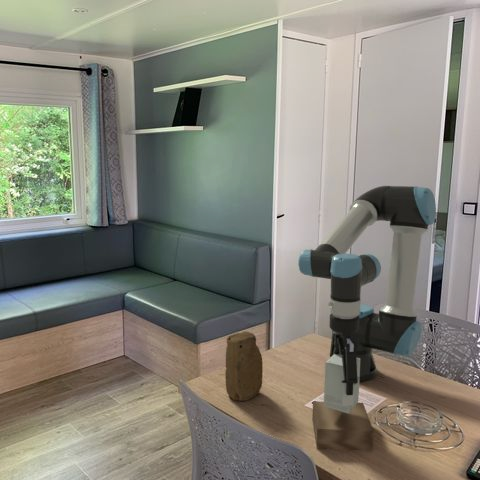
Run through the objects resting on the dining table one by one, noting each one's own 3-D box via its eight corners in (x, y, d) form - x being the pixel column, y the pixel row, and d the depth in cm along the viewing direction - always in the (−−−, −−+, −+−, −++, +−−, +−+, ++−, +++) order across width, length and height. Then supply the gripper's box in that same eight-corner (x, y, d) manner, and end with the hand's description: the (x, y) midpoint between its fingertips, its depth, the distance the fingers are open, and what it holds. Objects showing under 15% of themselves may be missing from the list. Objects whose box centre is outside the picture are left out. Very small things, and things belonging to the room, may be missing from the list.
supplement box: (350, 414, 125) (351, 368, 122) (322, 406, 129) (324, 361, 126) (359, 402, 131) (361, 357, 129) (333, 395, 135) (334, 352, 132)
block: (235, 404, 147) (235, 341, 144) (223, 394, 154) (222, 334, 150) (265, 395, 153) (265, 334, 149) (252, 385, 159) (252, 327, 155)
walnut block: (362, 422, 138) (363, 402, 137) (372, 452, 124) (373, 430, 123) (312, 420, 139) (312, 401, 138) (316, 450, 125) (317, 428, 124)
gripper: (319, 301, 136) (318, 376, 140) (342, 330, 114) (339, 418, 118) (346, 301, 137) (343, 375, 141) (373, 329, 115) (370, 416, 118)
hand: (341, 395), depth 129 cm, fingers closed on supplement box, 10 cm apart
